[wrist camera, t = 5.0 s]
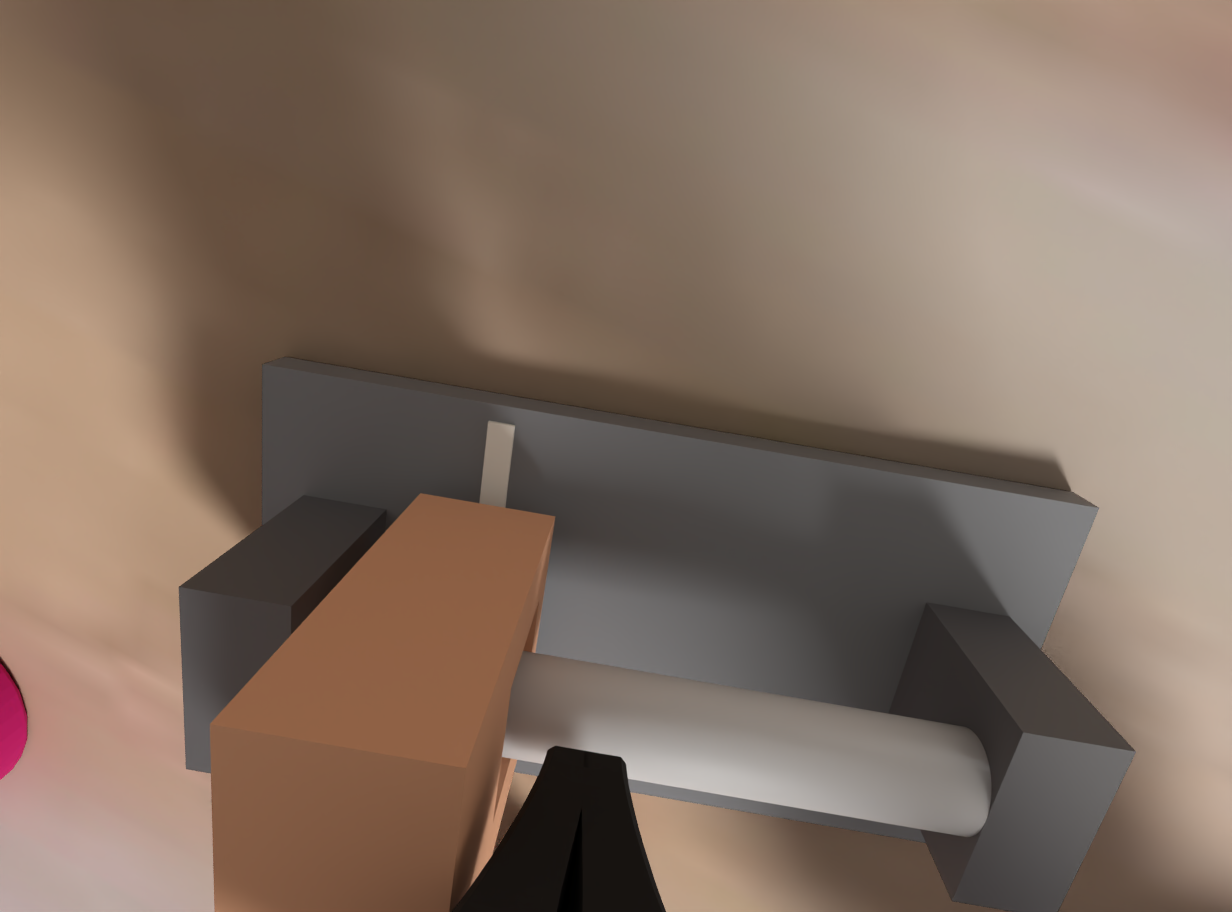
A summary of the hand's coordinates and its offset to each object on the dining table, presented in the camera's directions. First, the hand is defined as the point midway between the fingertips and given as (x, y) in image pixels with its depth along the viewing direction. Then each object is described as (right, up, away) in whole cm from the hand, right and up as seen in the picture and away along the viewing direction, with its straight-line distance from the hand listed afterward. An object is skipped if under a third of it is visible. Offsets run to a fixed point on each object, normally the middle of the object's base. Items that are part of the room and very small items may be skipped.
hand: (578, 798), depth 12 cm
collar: (-3, +2, +4) cm, 5 cm away
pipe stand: (+1, +2, +6) cm, 7 cm away
